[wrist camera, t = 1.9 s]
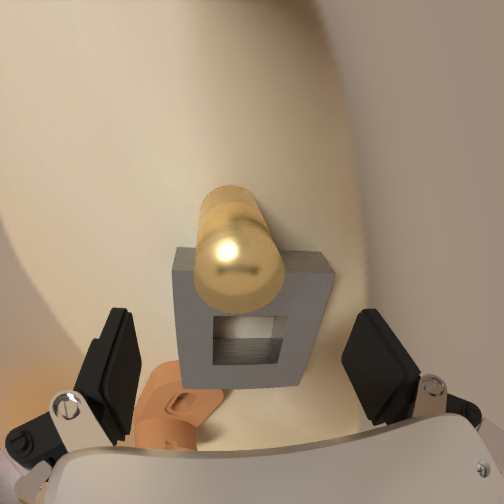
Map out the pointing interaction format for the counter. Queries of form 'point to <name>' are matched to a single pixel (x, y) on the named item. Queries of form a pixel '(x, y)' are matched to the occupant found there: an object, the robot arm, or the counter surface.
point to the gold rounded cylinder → (235, 253)
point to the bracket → (171, 411)
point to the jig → (251, 350)
